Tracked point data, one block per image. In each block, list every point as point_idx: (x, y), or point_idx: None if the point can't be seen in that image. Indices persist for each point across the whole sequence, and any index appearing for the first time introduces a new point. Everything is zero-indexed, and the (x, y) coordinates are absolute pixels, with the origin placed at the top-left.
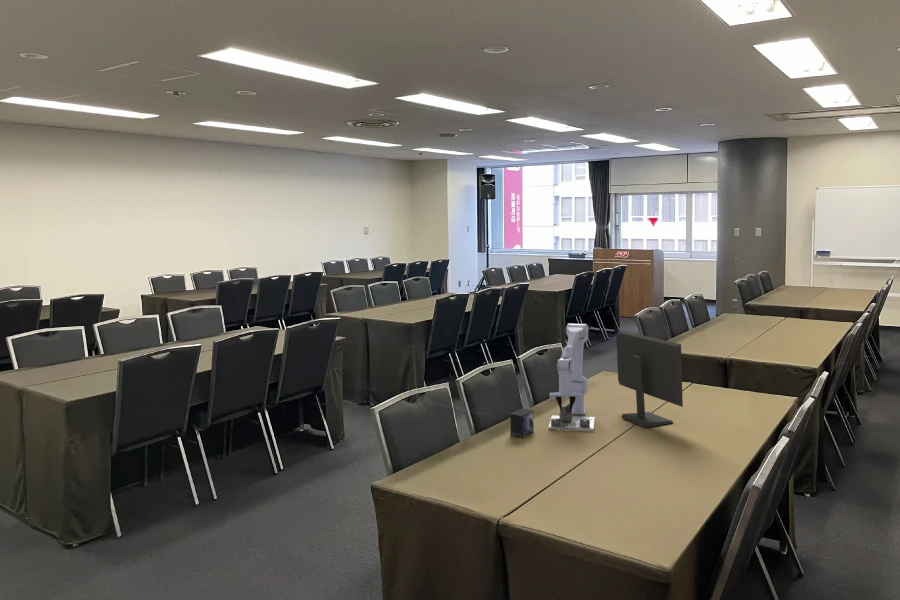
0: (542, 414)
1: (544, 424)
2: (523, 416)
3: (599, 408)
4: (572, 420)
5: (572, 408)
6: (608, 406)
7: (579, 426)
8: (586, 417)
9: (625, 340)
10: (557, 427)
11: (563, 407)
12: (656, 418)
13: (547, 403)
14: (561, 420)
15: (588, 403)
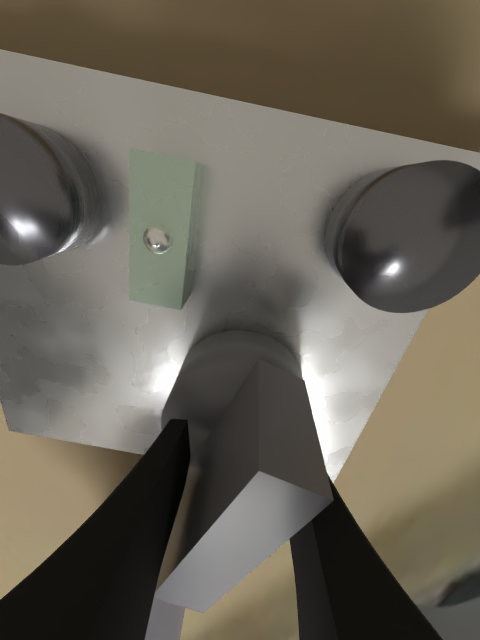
0: (366, 527)
1: (439, 348)
2: None
3: (43, 558)
4: (173, 275)
5: None
6: (7, 571)
7: (100, 149)
8: (68, 425)
9: None
10: (389, 136)
11: (287, 471)
12: None
13: (291, 625)
14: (290, 353)
15: None
